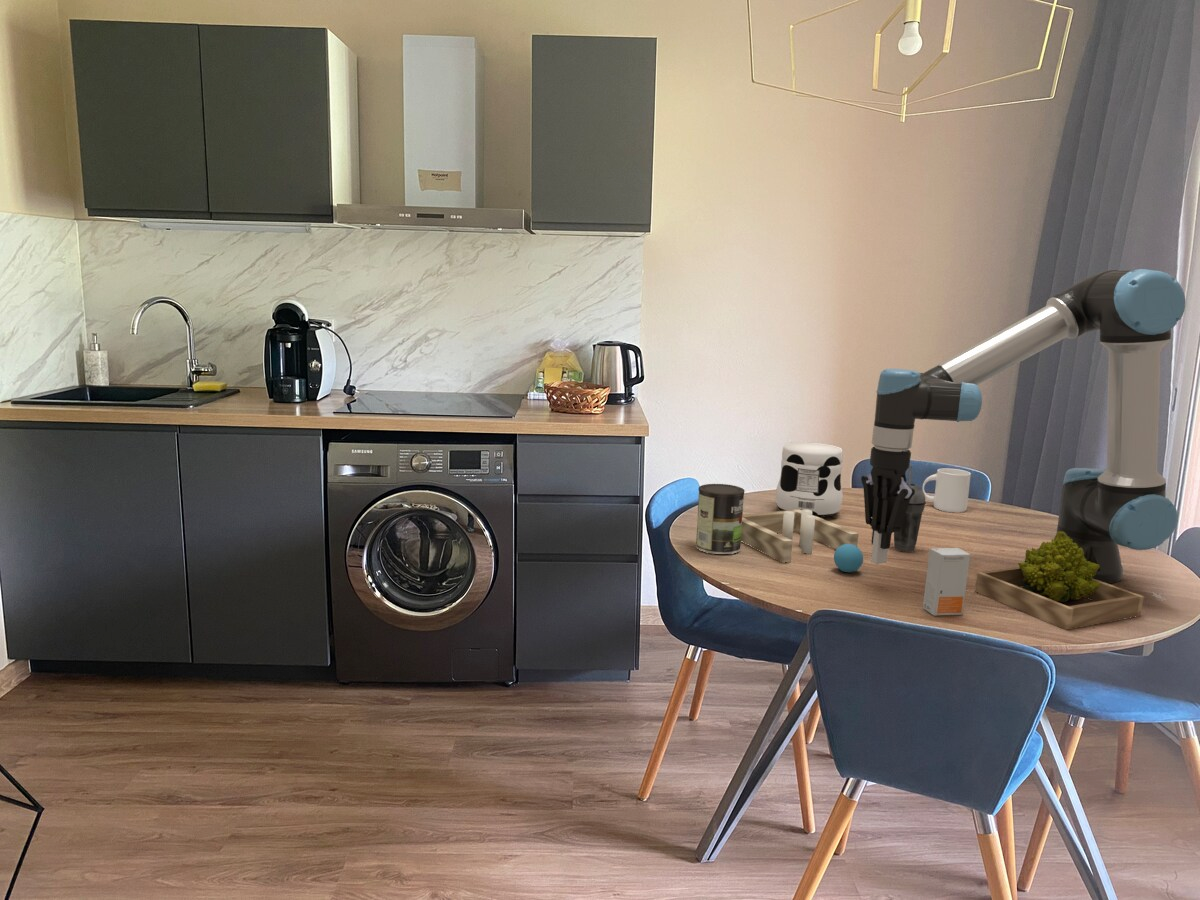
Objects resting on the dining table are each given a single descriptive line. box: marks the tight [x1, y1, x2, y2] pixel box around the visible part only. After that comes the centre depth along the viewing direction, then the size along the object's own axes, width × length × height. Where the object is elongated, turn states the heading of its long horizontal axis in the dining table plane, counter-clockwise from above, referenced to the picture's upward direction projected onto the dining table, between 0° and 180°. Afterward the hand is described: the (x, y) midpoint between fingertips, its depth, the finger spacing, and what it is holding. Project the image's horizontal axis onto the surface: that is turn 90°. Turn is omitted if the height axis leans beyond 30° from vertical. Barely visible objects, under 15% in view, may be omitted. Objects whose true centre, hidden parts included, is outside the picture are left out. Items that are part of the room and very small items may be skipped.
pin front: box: [800, 515, 815, 555], centre depth 198 cm, size 2×2×8 cm
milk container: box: [775, 441, 844, 518], centre depth 232 cm, size 17×17×18 cm
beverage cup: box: [893, 465, 927, 553], centre depth 202 cm, size 7×7×20 cm
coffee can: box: [695, 483, 746, 555], centre depth 198 cm, size 10×10×14 cm
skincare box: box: [922, 547, 971, 617], centre depth 163 cm, size 6×4×12 cm
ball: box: [833, 544, 864, 573], centre depth 185 cm, size 6×6×6 cm
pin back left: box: [781, 511, 794, 541], centre depth 201 cm, size 2×2×8 cm
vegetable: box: [1017, 531, 1101, 603], centre depth 172 cm, size 15×16×15 cm
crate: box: [974, 566, 1144, 630], centre depth 171 cm, size 21×20×4 cm
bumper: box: [741, 509, 859, 564], centre depth 203 cm, size 22×20×5 cm
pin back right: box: [798, 509, 812, 548], centre depth 203 cm, size 2×2×8 cm
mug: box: [922, 467, 972, 513], centre depth 243 cm, size 9×12×11 cm
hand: (878, 562), depth 177 cm, fingers closed
